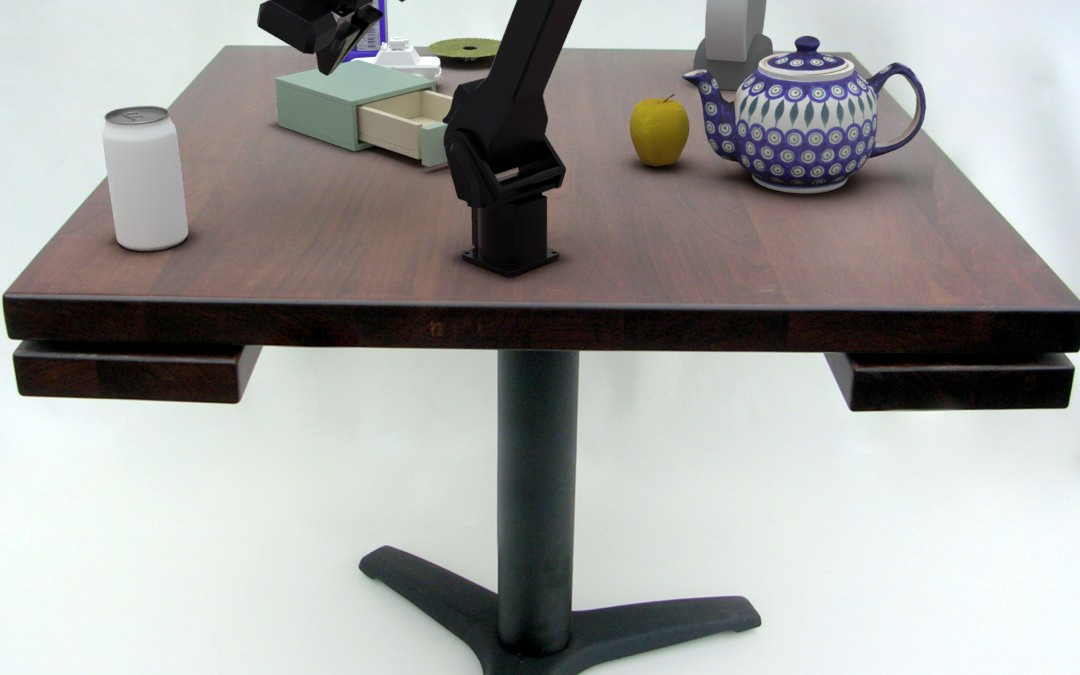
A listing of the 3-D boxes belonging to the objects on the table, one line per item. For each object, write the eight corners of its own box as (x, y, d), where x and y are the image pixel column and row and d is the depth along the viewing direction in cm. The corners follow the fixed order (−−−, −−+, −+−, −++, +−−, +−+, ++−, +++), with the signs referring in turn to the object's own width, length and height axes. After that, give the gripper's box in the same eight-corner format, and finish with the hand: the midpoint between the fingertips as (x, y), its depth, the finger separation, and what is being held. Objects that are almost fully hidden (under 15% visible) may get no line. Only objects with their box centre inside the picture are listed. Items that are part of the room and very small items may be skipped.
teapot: (904, 157, 149) (920, 21, 143) (932, 204, 136) (952, 56, 129) (674, 153, 150) (680, 18, 144) (680, 199, 137) (686, 52, 131)
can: (132, 258, 123) (114, 128, 118) (106, 237, 128) (88, 111, 122) (200, 242, 126) (185, 116, 121) (172, 222, 131) (157, 100, 126)
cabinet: (437, 128, 159) (435, 80, 157) (354, 151, 151) (351, 101, 149) (360, 105, 168) (358, 59, 166) (278, 125, 160) (274, 77, 158)
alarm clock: (707, 60, 188) (714, -77, 181) (781, 65, 186) (792, -74, 178) (681, 89, 175) (687, -58, 167) (760, 96, 172) (771, -53, 164)
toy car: (350, 83, 178) (347, 30, 175) (443, 82, 178) (441, 30, 175) (345, 95, 172) (342, 41, 169) (440, 94, 172) (439, 41, 169)
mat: (461, 75, 181) (461, 60, 180) (412, 59, 189) (411, 45, 188) (526, 61, 188) (526, 47, 187) (476, 46, 195) (476, 33, 195)
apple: (697, 171, 145) (701, 97, 142) (640, 176, 143) (643, 102, 140) (675, 153, 151) (678, 82, 147) (620, 158, 149) (622, 86, 146)
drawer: (534, 154, 148) (534, 117, 146) (459, 177, 141) (458, 139, 139) (425, 120, 159) (423, 86, 157) (350, 140, 152) (348, 104, 150)
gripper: (343, -136, 131) (313, 4, 142) (221, -86, 118) (197, 66, 128) (439, -84, 129) (401, 55, 140) (326, -26, 116) (294, 123, 126)
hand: (325, 72), depth 133 cm, fingers closed
